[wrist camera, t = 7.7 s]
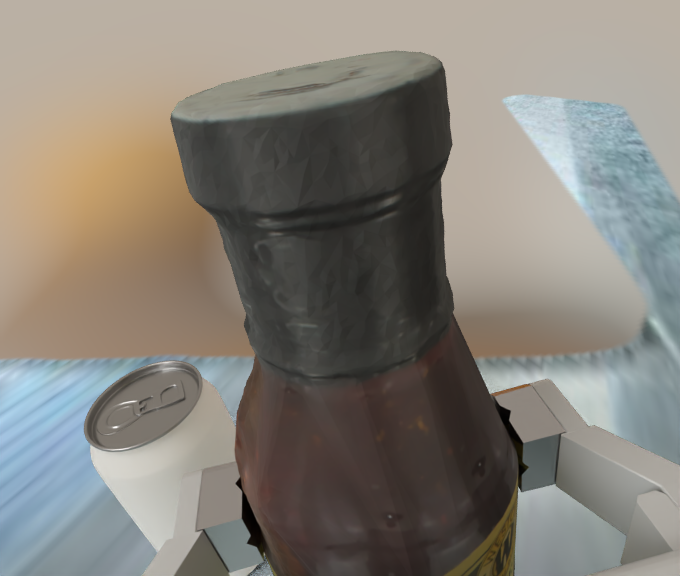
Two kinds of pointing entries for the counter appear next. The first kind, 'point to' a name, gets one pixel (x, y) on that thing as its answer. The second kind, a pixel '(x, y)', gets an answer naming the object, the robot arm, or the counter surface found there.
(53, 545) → the counter surface
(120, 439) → the can
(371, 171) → the sauce bottle
